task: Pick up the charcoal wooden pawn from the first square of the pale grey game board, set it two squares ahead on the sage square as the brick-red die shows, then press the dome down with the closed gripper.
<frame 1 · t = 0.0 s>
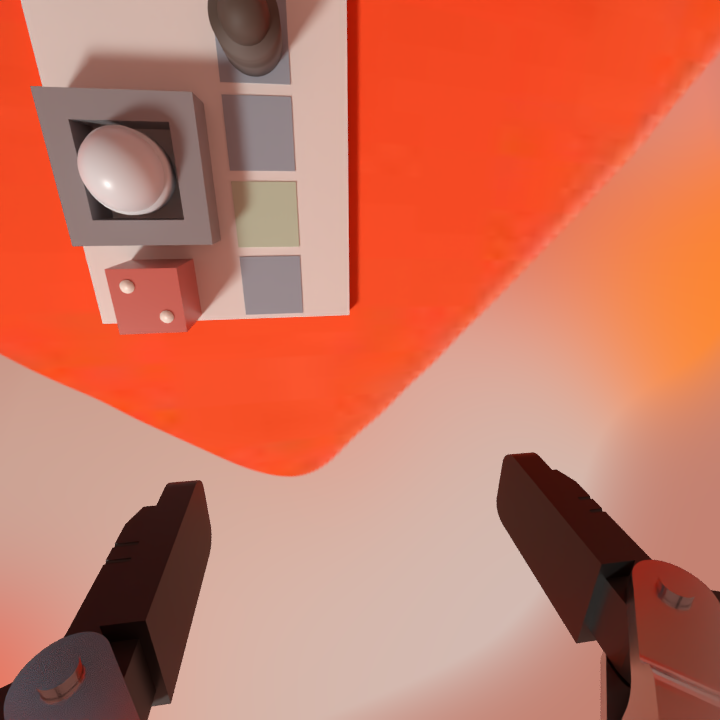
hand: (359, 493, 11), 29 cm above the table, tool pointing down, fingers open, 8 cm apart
die: (167, 288, 35), resting on game board
pawn: (252, 40, 29), point 1 cm above the table, touching game board
dome housing: (138, 173, 30), on the game board, point 3 cm above the table
game board: (214, 163, 33), on the table
dome: (123, 171, 27), point 6 cm above the table, slide at 0.0 cm
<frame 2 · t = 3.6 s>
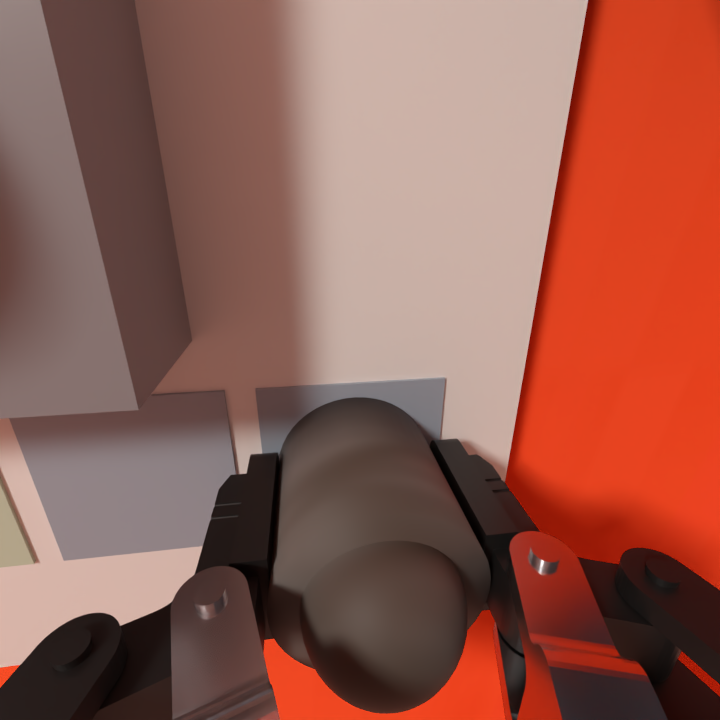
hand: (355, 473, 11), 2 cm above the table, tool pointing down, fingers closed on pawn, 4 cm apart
pawn: (354, 463, 12), point 1 cm above the table, touching game board, gripper
game board: (44, 332, 10), on the table
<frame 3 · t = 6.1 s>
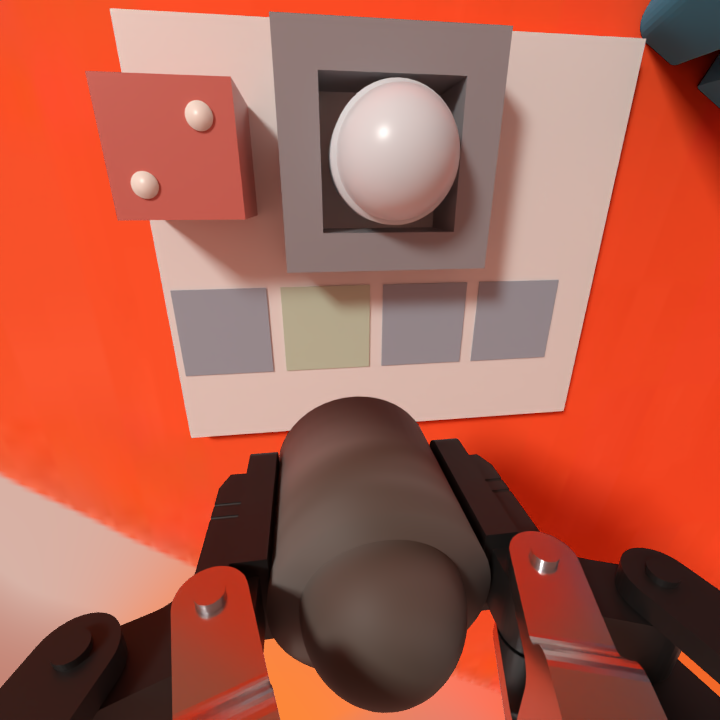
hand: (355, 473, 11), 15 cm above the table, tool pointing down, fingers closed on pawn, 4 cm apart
die: (202, 162, 20), resting on game board
pawn: (354, 462, 12), point 15 cm above the table, touching gripper
dome housing: (384, 161, 19), on the game board, point 3 cm above the table
game board: (389, 257, 24), on the table
dome: (396, 155, 17), point 6 cm above the table, slide at 0.0 cm
block: (711, 30, 22), on the table
when the fingers open (3 cm above the table, at t = 8.6 s): pawn drops 1 cm, resting on game board.
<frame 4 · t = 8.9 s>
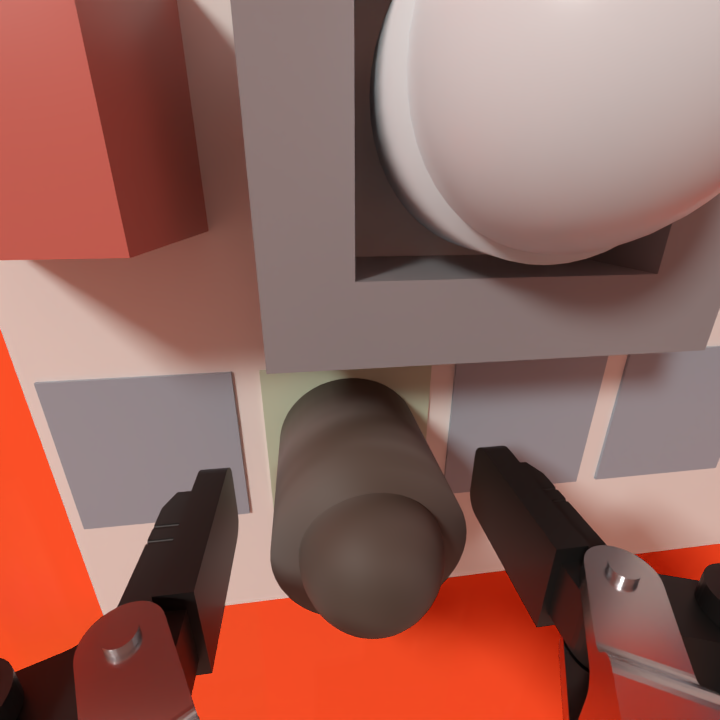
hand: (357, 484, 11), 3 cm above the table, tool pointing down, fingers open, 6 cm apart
die: (74, 113, 9), resting on game board
pawn: (349, 439, 13), point 1 cm above the table, touching game board
dome housing: (495, 109, 8), on the game board, point 3 cm above the table
game board: (464, 305, 13), on the table
dome: (580, 69, 6), point 6 cm above the table, slide at 0.0 cm
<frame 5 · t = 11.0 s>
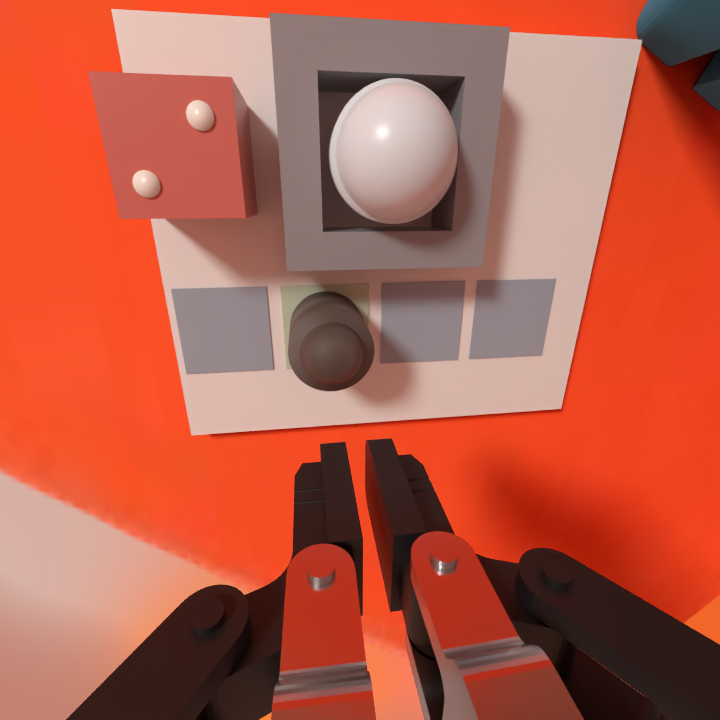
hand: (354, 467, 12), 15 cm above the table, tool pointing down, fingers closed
die: (202, 161, 20), resting on game board
pawn: (326, 326, 24), point 1 cm above the table, touching game board
dome housing: (383, 161, 20), on the game board, point 3 cm above the table
game board: (388, 256, 24), on the table
dome: (395, 155, 17), point 6 cm above the table, slide at 0.0 cm
block: (707, 31, 22), on the table
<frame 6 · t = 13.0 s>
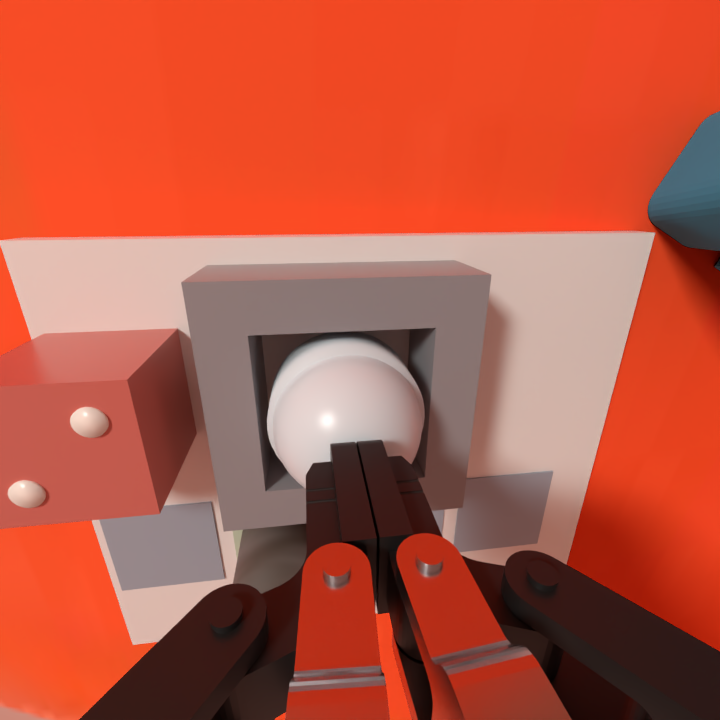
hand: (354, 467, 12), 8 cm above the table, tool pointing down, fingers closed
die: (126, 387, 17), resting on game board
pawn: (285, 535, 21), point 1 cm above the table, touching game board
dome housing: (341, 393, 16), on the game board, point 3 cm above the table
game board: (357, 451, 21), on the table
dome: (347, 423, 14), point 5 cm above the table, slide at 0.4 cm, touching gripper
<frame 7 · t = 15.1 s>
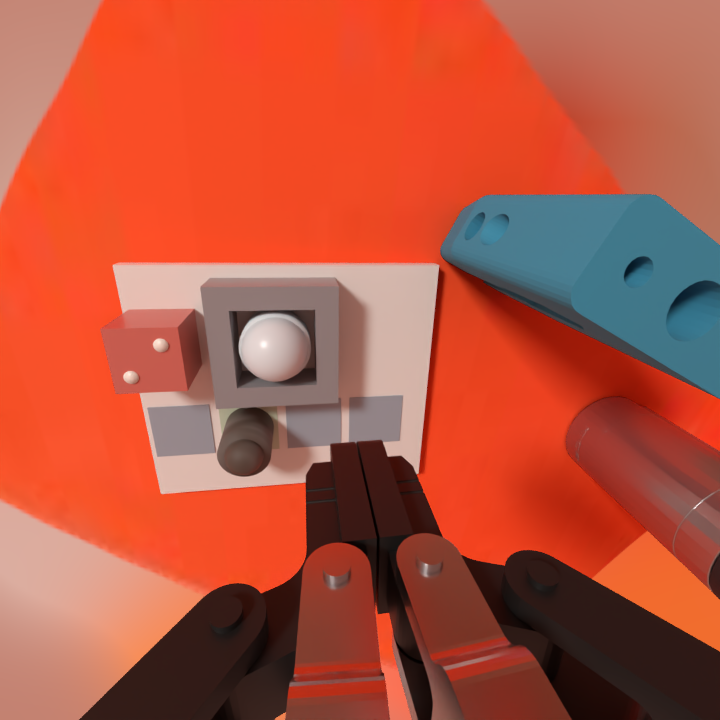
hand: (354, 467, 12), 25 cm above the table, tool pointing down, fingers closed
die: (166, 338, 33), resting on game board
pawn: (249, 427, 37), point 1 cm above the table, touching game board
dome housing: (276, 342, 33), on the game board, point 3 cm above the table
game board: (291, 381, 37), on the table
dome: (275, 348, 31), point 4 cm above the table, slide at 1.3 cm
block: (488, 251, 36), on the table
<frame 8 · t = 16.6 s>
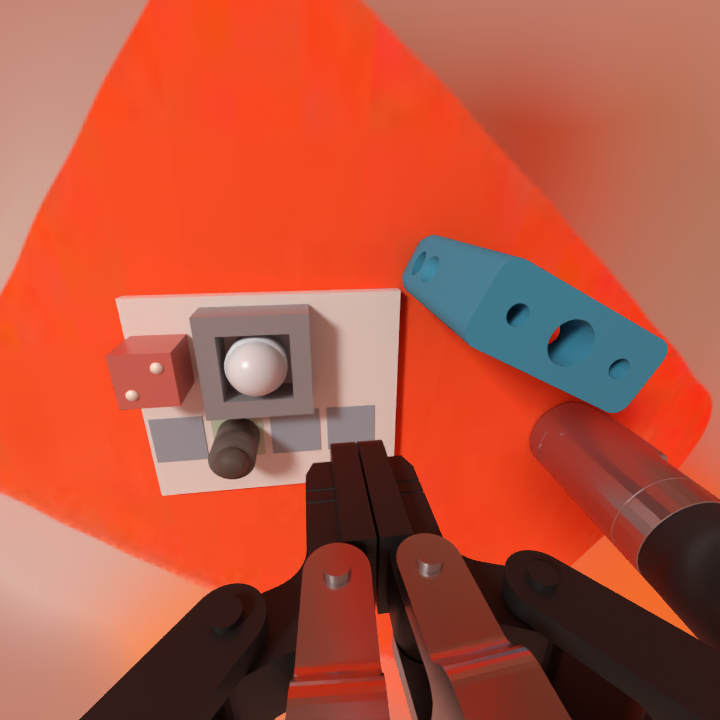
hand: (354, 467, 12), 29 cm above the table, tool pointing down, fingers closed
die: (163, 359, 38), resting on game board
pawn: (238, 435, 42), point 1 cm above the table, touching game board
dome housing: (257, 361, 37), on the game board, point 3 cm above the table
game board: (274, 394, 42), on the table
dome: (256, 367, 36), point 4 cm above the table, slide at 1.3 cm
block: (446, 276, 40), on the table
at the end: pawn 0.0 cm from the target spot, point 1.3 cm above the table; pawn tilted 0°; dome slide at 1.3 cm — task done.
